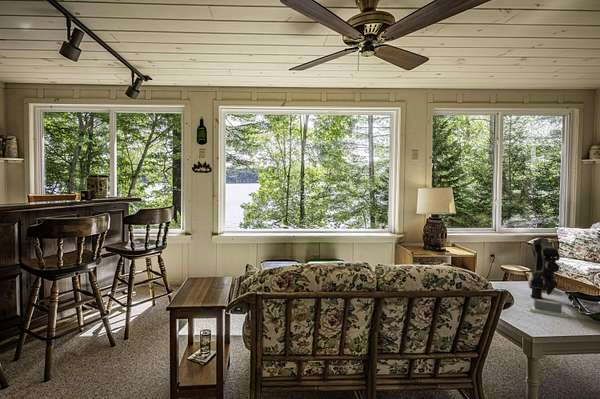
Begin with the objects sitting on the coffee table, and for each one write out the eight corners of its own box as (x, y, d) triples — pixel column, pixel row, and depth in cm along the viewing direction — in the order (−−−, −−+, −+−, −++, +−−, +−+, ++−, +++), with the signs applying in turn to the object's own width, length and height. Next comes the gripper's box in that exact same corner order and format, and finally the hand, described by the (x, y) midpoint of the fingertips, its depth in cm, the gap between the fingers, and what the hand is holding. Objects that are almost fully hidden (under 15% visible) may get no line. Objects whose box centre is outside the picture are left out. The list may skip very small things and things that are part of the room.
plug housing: (533, 306, 204) (533, 298, 204) (559, 310, 198) (559, 302, 197) (534, 308, 199) (535, 300, 199) (561, 313, 193) (561, 304, 193)
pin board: (528, 306, 207) (528, 300, 207) (563, 312, 198) (564, 305, 198) (530, 311, 199) (530, 304, 199) (567, 318, 190) (567, 310, 190)
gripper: (530, 262, 212) (528, 286, 213) (535, 269, 195) (533, 294, 196) (551, 265, 206) (550, 288, 207) (558, 272, 190) (556, 298, 191)
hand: (546, 292), depth 201 cm, fingers open, 9 cm apart
